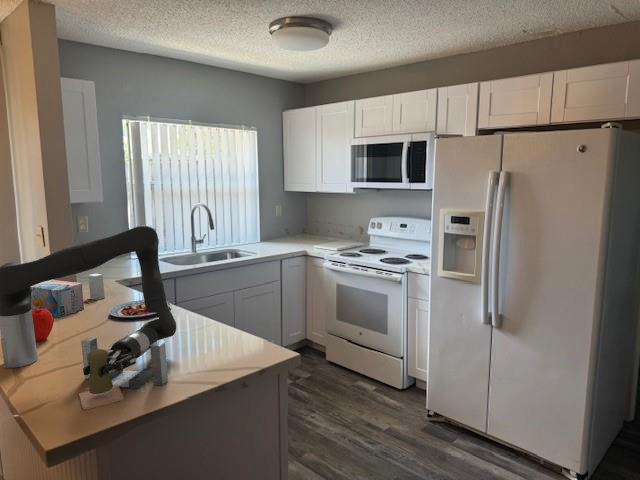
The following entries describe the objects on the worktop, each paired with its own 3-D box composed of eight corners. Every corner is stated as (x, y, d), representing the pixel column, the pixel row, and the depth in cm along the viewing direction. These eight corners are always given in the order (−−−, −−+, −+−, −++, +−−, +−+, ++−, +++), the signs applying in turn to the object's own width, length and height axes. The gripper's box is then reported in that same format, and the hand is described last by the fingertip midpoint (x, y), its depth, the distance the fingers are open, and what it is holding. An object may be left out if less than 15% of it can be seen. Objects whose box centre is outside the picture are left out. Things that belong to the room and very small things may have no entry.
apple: (51, 333, 181) (47, 303, 179) (58, 339, 174) (55, 308, 172) (21, 340, 174) (17, 308, 172) (28, 346, 167) (24, 314, 165)
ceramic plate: (108, 325, 190) (108, 318, 189) (109, 308, 213) (109, 302, 213) (174, 316, 200) (173, 309, 199) (168, 301, 223) (167, 295, 223)
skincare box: (105, 297, 231) (103, 274, 229) (97, 300, 227) (94, 276, 225) (98, 296, 234) (95, 273, 232) (90, 298, 230) (87, 274, 228)
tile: (83, 410, 121) (83, 408, 121) (79, 395, 129) (79, 393, 129) (124, 399, 126) (123, 397, 126) (117, 385, 135) (117, 383, 135)
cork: (106, 381, 132) (102, 344, 130) (117, 387, 128) (113, 349, 126) (85, 389, 127) (80, 351, 126) (95, 396, 124) (90, 357, 122)
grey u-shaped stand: (99, 369, 146) (95, 333, 144) (174, 375, 141) (171, 338, 139) (76, 383, 137) (72, 345, 135) (155, 391, 131) (152, 350, 129)
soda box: (-2, 309, 217) (-5, 282, 215) (27, 301, 229) (24, 275, 227) (58, 318, 200) (55, 289, 198) (86, 309, 213) (83, 281, 211)
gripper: (108, 334, 141) (67, 357, 125) (150, 337, 138) (113, 361, 122) (111, 358, 143) (70, 383, 126) (152, 360, 140) (116, 387, 123)
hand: (92, 372), depth 124 cm, fingers closed on cork, 4 cm apart
